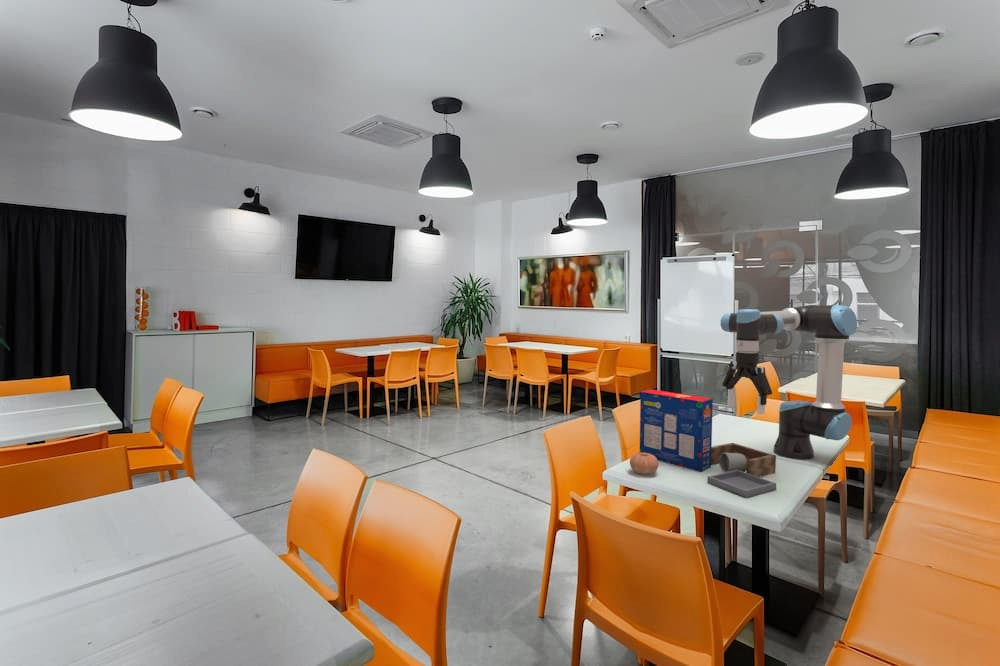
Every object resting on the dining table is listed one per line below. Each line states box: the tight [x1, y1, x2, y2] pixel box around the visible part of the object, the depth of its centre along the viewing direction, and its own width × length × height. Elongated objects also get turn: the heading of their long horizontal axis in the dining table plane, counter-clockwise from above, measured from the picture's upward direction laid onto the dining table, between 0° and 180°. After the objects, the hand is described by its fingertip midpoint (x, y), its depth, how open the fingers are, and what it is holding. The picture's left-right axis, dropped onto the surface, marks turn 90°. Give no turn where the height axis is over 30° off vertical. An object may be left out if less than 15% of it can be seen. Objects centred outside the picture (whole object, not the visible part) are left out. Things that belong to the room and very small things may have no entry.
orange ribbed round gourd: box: [629, 452, 659, 476], centre depth 198 cm, size 11×11×8 cm
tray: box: [706, 470, 777, 499], centre depth 183 cm, size 16×16×2 cm
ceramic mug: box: [719, 453, 747, 473], centre depth 200 cm, size 11×8×8 cm
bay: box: [711, 442, 777, 478], centre depth 202 cm, size 15×20×7 cm
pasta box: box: [639, 389, 714, 473], centre depth 211 cm, size 28×8×28 cm, turn 40°
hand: (745, 409), depth 186 cm, fingers open, 13 cm apart
